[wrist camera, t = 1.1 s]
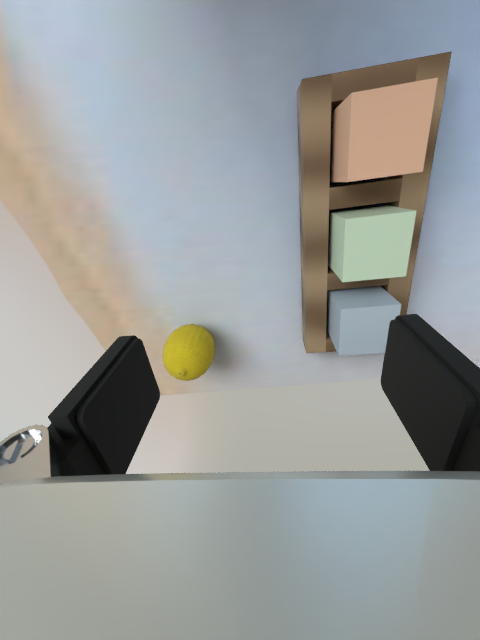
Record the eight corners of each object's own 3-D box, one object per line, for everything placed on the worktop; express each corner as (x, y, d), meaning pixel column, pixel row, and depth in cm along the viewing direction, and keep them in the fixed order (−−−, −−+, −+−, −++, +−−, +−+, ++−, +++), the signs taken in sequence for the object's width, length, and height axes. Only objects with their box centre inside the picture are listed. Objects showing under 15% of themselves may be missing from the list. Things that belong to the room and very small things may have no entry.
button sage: (330, 212, 24) (345, 219, 20) (387, 205, 24) (416, 210, 19) (328, 265, 27) (342, 282, 22) (381, 260, 26) (405, 276, 22)
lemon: (166, 327, 33) (141, 366, 26) (200, 305, 32) (183, 341, 24) (194, 358, 35) (177, 402, 28) (227, 339, 33) (219, 381, 26)
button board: (297, 91, 22) (302, 79, 19) (427, 68, 21) (451, 51, 18) (302, 339, 33) (306, 353, 30) (388, 333, 32) (400, 347, 29)
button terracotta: (332, 111, 21) (351, 92, 17) (399, 100, 20) (437, 77, 16) (330, 182, 23) (347, 182, 19) (391, 173, 23) (422, 171, 18)
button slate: (328, 289, 28) (341, 309, 23) (378, 284, 27) (401, 304, 23) (327, 330, 30) (338, 356, 26) (373, 327, 29) (393, 352, 25)
